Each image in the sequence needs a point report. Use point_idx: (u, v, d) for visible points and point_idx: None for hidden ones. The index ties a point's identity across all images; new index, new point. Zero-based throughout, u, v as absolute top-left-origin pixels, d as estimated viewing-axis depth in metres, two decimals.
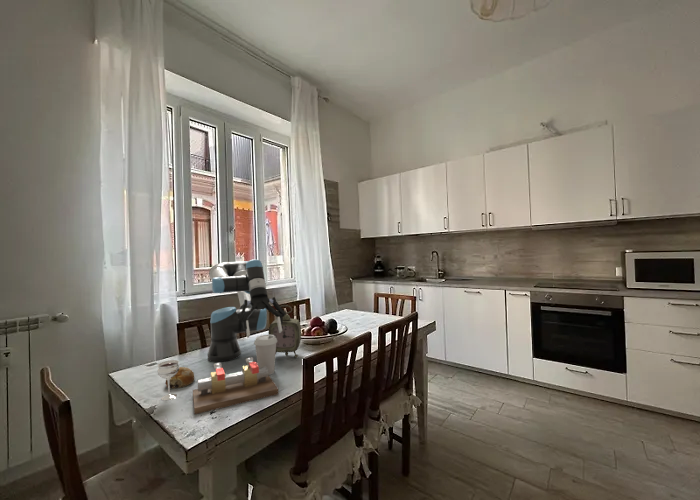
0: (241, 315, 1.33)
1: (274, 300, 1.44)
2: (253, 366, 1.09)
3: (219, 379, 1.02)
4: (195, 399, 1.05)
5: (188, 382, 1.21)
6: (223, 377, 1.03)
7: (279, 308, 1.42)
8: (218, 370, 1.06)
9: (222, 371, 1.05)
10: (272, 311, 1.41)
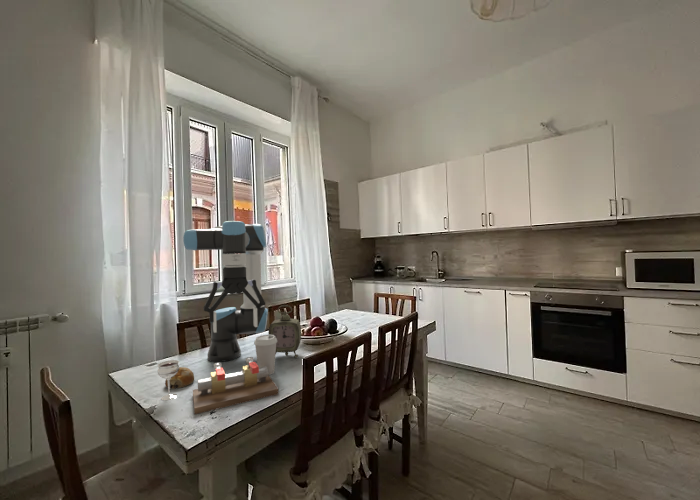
0: (207, 305, 1.02)
1: (254, 284, 1.09)
2: (253, 366, 1.09)
3: (219, 379, 1.02)
4: (195, 399, 1.05)
5: (188, 382, 1.21)
6: (223, 377, 1.03)
7: (258, 296, 1.10)
8: (218, 370, 1.06)
9: (222, 371, 1.05)
10: (249, 298, 1.09)
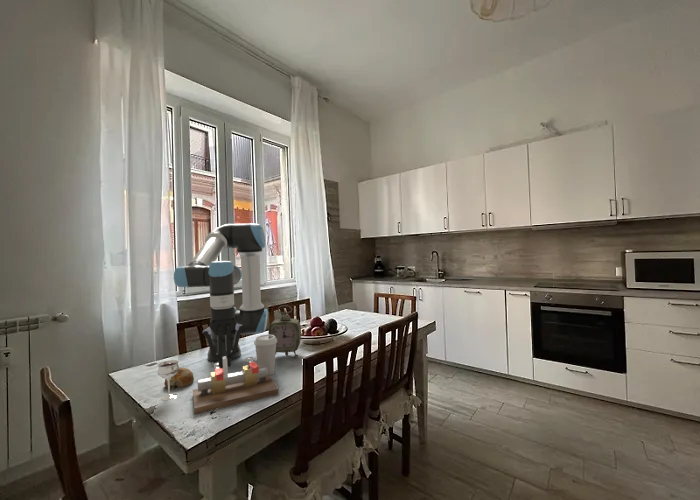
0: (213, 352, 1.03)
1: (239, 330, 1.07)
2: (253, 366, 1.09)
3: (217, 379, 1.02)
4: (195, 399, 1.05)
5: (187, 383, 1.21)
6: (221, 377, 1.03)
7: (235, 343, 1.06)
8: (217, 370, 1.06)
9: (221, 371, 1.05)
10: (226, 343, 1.05)
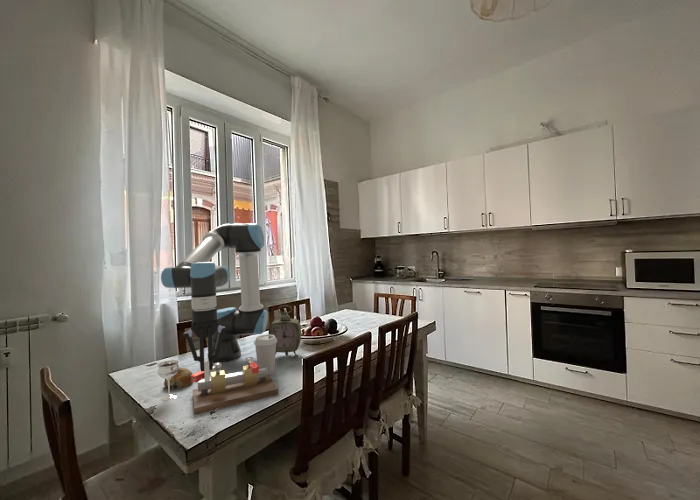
0: (194, 355, 1.01)
1: (222, 332, 1.05)
2: (253, 366, 1.09)
3: (192, 380, 1.02)
4: (195, 399, 1.05)
5: (187, 383, 1.20)
6: (195, 379, 1.02)
7: (217, 346, 1.04)
8: None
9: (200, 373, 1.04)
10: (208, 346, 1.04)
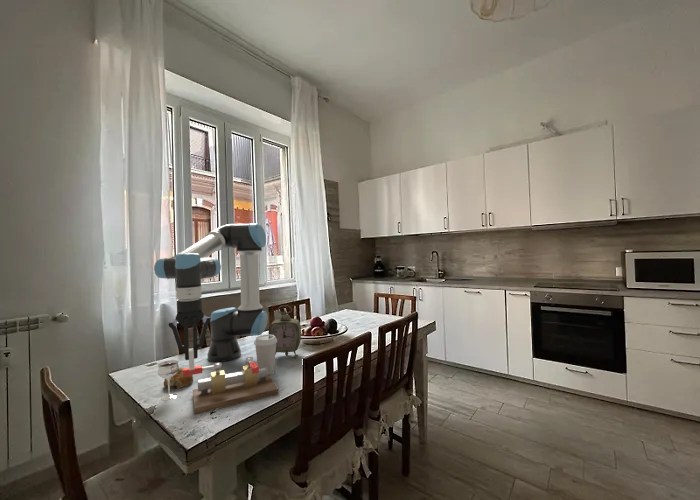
0: (179, 344, 1.03)
1: (206, 322, 1.07)
2: (253, 366, 1.09)
3: None
4: (195, 399, 1.05)
5: (186, 383, 1.20)
6: None
7: (202, 335, 1.06)
8: (195, 367, 1.09)
9: None
10: None
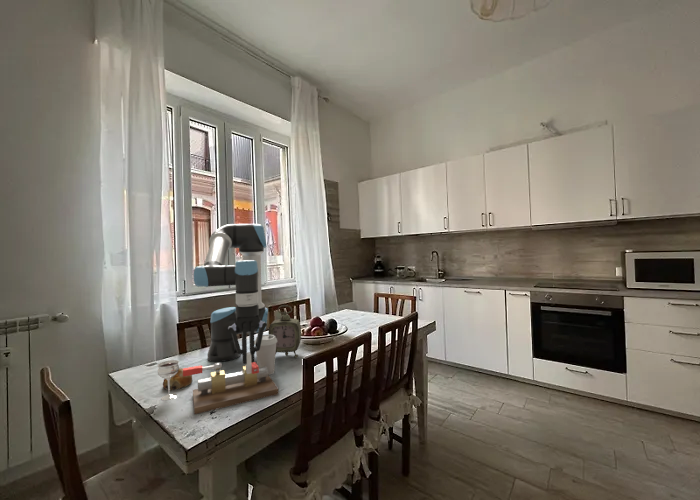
0: (238, 348, 1.06)
1: (263, 327, 1.10)
2: (253, 366, 1.09)
3: None
4: (195, 399, 1.05)
5: (186, 383, 1.20)
6: None
7: (259, 340, 1.10)
8: (195, 366, 1.09)
9: (190, 368, 1.08)
10: (250, 340, 1.09)
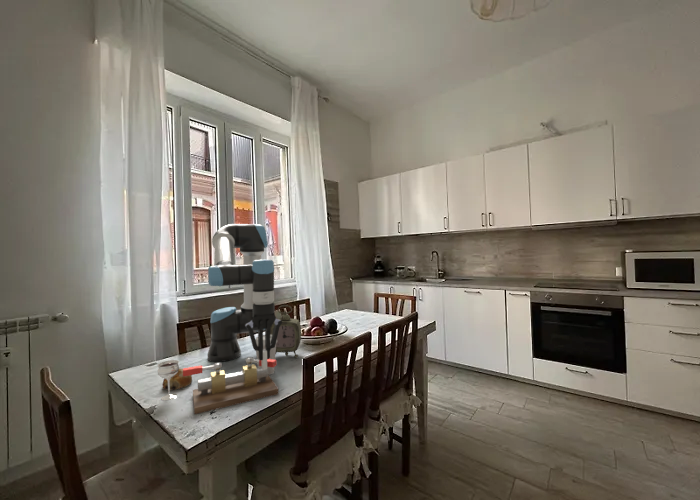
0: (255, 344, 1.10)
1: (278, 325, 1.14)
2: (270, 360, 1.14)
3: None
4: (195, 399, 1.05)
5: (185, 384, 1.20)
6: None
7: (274, 337, 1.13)
8: (195, 366, 1.09)
9: (190, 368, 1.08)
10: (266, 337, 1.12)
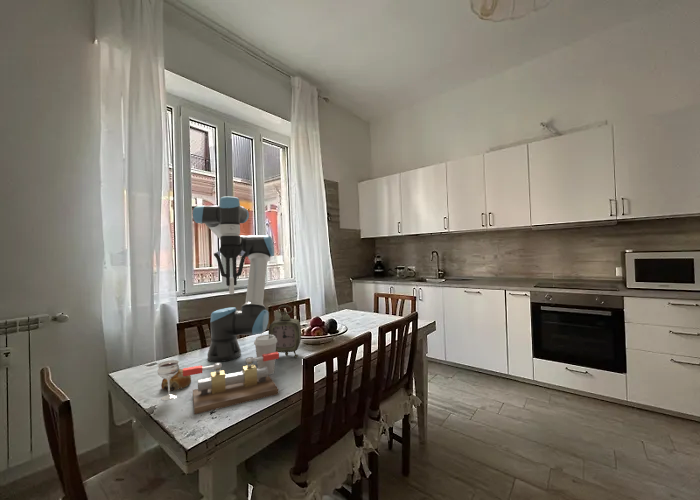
0: (222, 271, 1.24)
1: (244, 255, 1.28)
2: (274, 353, 1.22)
3: None
4: (195, 399, 1.05)
5: (184, 384, 1.19)
6: None
7: (240, 266, 1.27)
8: (195, 366, 1.09)
9: (190, 368, 1.08)
10: (233, 266, 1.27)
